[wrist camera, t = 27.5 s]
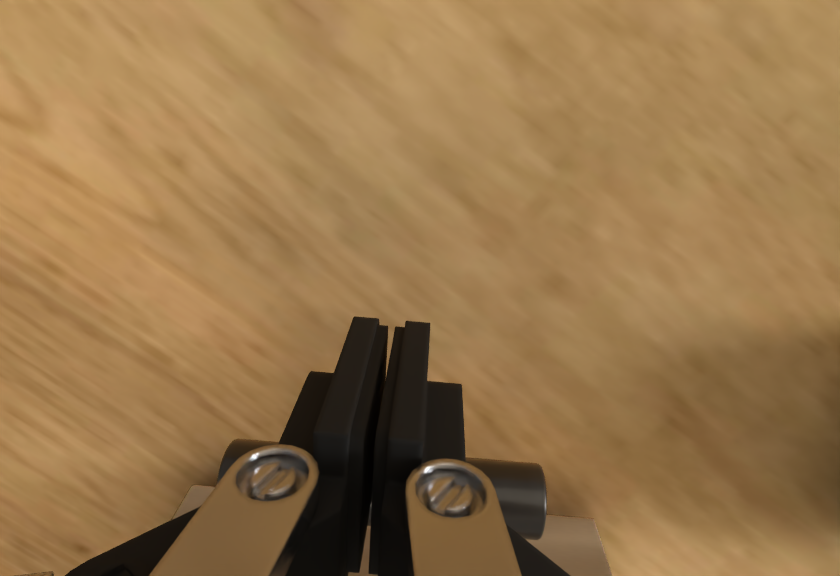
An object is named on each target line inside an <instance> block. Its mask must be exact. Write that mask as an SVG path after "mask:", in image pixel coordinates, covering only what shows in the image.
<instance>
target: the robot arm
mask: <svg viewBox="0 0 840 576" xmlns="http://www.w3.org/2000/svg"><path fill="white" fill-rule="evenodd" d="M429 337H430V323H424V322H412V321H406V323H405V327H395V332H394V337H393V343H392V348H391V354H390V359H389V364H388V370H387V375H386V360H387V341H388V326H383V325H379V319H376V318H364V317H354V318H353V320H352V323H351V326H350V329H349V332H348V334H347V337H346V340H345V343H344V346H343V349H342V352H341V354H340V357H339V360H338V363H337V366H336V369H335V372H334V373H325V372H313V371H311V372H310V373H309V375H308V376H307V379H306V381H305V383H304V386H303V388H302V390H301V393H300V395H299V397H298V400H297V402H296V404H295V407H294V409H293V411H292V414H291V416H290V418H289V421H288V423H287V425H286V428H285V430H284V432H283V435H282V437H281V439H280V442H279V444H276V445H268V446H263V447H260V448H257V449H254V450H251V451H249V452H248V453H246V454H244V455H243V456H241V457H240V458H239V459H238V460H237V461H236V462H235V463H233V464H232V465H231V467H230V468H229V469H228V471H227V472H226V473H225V475H224V476H223V477H222V479H221V480H220V481H219V483H218V484H217V485H216V487H215V488H214V489H213V491H212V492H211V493H210V495H209V496H208V497H207V499H206V500H205V501H204V503H203V504H202V505H201V506H200V507H198V508H196V509H194V510H192V511H190V512H187V513H185V514H183V515H181V516H179V517H177V518H175V519H173V520H171V521H169V522H167V523H165V524H163V525H160V526H158V527H156V528H154V529H152V530H150V531H148V532H146V533H144V534H142V535H140V536H138V537H136V538H134V539H131V540H129V541H127V542H125V543H123V544H121V545H119V546H117V547H115V548H113V549H111V550H109V551H107V552H105V553H102V554H100V555H98V556H96V557H94V558H92V559H90V560H88V561H86V562H85V563H83V564H81V565H80V566H78V567H76V568H75V569H73V570H71V571H70V572H69V573H68V574H66V575H65V576H348V572H352V573H359V572H360V567H361V561H362V555H363V549H364V543H365V537H366V531H367V525H368V519H369V513H370V507H371V501H372V508H371V529H370V550H369V574H374V575H378V576H570V575H569V574H568V573H567V572H565V571H564V570H563V569H562V568H560V567H559V566H558V565H557V564H555V563H554V562H553V561H552V560H550V559H549V558H548V557H547V556H545V555H544V554H543V553H542V552H540V551H539V550H538V549H537V548H535V547H534V546H533V545H532V544H530V543H529V542H528V541H527V540H526V539H524V538H523V537H522V536H521V535H519V534H518V533H517V532H516V531H514V530H513V529H512V528H511V527H509V526H508V525H507V524H506V523H505V520H504V517H503V514H502V510H501V507H500V504H499V501H498V498H497V494H496V491H495V488H494V486H493V484H492V482H491V481H490V479H489V478H488V477H487V476H486V475H485V474H484V473H483V472H482V471H481V470H480V469H478V468H476V467H475V466H473V465H471V464H469V463H466V458H465V438H464V418H463V398H462V385H461V384H455V383H443V382H431V381H427V372H428V354H429ZM385 378H386V381H385ZM16 576H54V574H53V571H52V572H43V573H34V574H25V575H16Z"/></svg>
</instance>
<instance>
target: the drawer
mask: <svg viewBox="0 0 840 576" xmlns="http://www.w3.org/2000/svg"><path fill="white" fill-rule="evenodd" d="M276 444H279V442H271V441H258V440H246V439H236V440H234V441H232V442H231V443H230V445H229V446H228V448H227V450H226V452H225V454H224V456H223V459H222V462H221V465H220V469H219V473H218V479H217V484H218V483H219V481H220V480H221V479H222V477H223V476H224V475H225V473H226V472H227V471H228V469H229V468H230V467H231V465H232V464H233V463H235V462H236V461H237V460H238V459H239V458H240V457H241V456H243V455H244V454H246V453H248V452H249V451H251V450H254V449H257V448H260V447H263V446H268V445H276ZM466 463H469V464H471V465H473V466H475V467H476V468H478V469H480V470H481V471H482V472H483V473H484V474H485V475H486V476H487V477H488V478H489V479H490V481H491V482H492V484H493V486H494V488H495V491H496V494H497V498H498V501H499V504H500V507H501V510H502V514H503V517H504V520H505V523H506V524H507V525H508V526H509V527H511V528H512V529H513V530H514V531H516V532H517V533H518V534H519V535H521V536H522V537H523V538H524V539H526V540H527V541H528V542H529V543H530V544H532V545H533V546H534V547H535V548H537V549H538V550H539V551H540V552H542V553H543V554H544V555H545V556H547V557H548V558H549V559H550V560H552V561H553V562H554V563H555V564H557V565H558V566H559V567H560V568H562V569H563V570H564V571H565V572H567V573H568V574H569V575H570V576H612V573H611V570H610V567H609V564H608V561H607V557H606V554H605V551H604V548H603V545H602V542H601V539H600V536H599V532H598V529H597V526H596V523H595V520H594V519H592V518H581V517H570V516H558V515H546V513H547V492H546V482H545V477H544V473H543V470H542V467H541V466H540V465H539V464H537V463H525V462H513V461H501V460H489V459H477V458H466ZM214 488H215V487H212V486H200V485H192V486H191V487H190V489H189V491H188V492H187V494H186V496H185V497H184V499H183V501H182V503H181V504H180V506H179V508H178V509H177V511H176V513H175V514H174V516H173V518H172V519H171V520H173V519H175V518H177V517H179V516H181V515H183V514H185V513H187V512H190V511H192V510H194V509H196V508H198V507H200V506H201V505H202V504H203V503H204V501H205V500H206V499H207V497H208V496H209V495H210V493H211V492H212V491H213V489H214ZM371 508H372V501H371V507H370V513H369V519H368V525H367V531H366V537H365V543H364V549H363V555H362V561H361V567H360V572H359V573H352V572H348V576H378V575H374V574H369V550H370V529H371Z"/></svg>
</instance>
